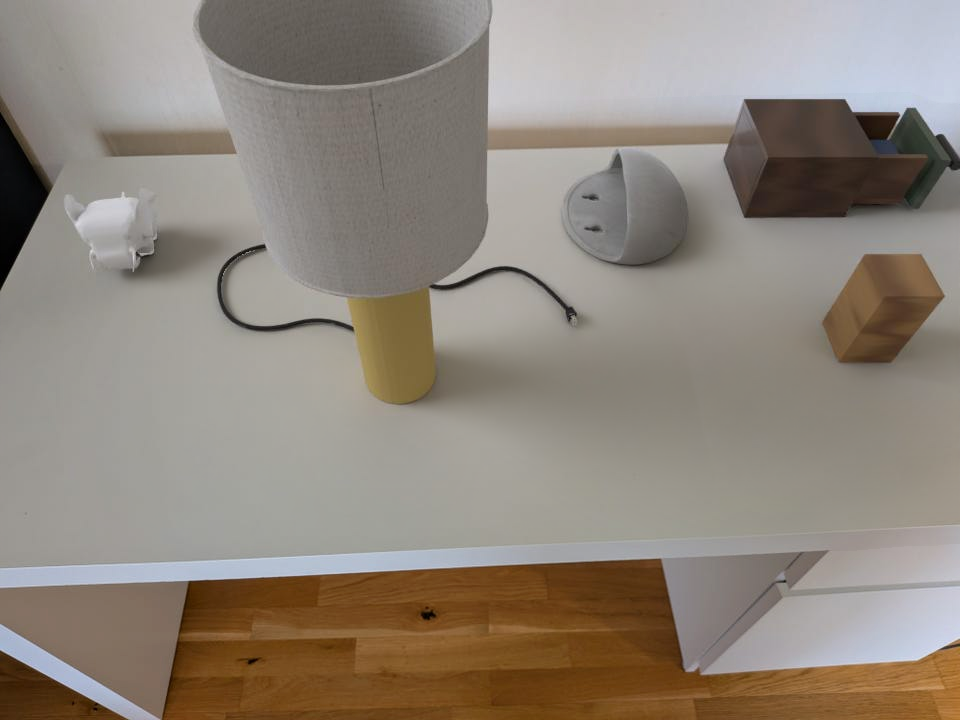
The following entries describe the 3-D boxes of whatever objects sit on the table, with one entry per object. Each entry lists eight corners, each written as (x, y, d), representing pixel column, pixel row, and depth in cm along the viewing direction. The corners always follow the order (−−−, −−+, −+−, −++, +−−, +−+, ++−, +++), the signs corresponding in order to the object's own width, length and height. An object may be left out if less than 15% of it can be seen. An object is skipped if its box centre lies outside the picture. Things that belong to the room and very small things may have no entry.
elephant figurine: (82, 292, 82) (45, 237, 75) (101, 225, 89) (69, 169, 82) (164, 284, 83) (134, 229, 76) (176, 218, 90) (150, 163, 83)
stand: (872, 321, 80) (921, 253, 71) (891, 362, 76) (945, 296, 67) (821, 321, 80) (864, 253, 71) (838, 362, 76) (885, 296, 67)
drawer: (917, 156, 97) (947, 107, 91) (950, 209, 91) (985, 160, 84) (800, 156, 97) (823, 107, 91) (825, 209, 90) (851, 160, 84)
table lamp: (230, 491, 66) (1, 139, 34) (215, 255, 86) (61, -109, 54) (613, 400, 73) (720, 34, 41) (519, 200, 92) (542, -153, 60)
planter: (712, 226, 79) (571, 222, 79) (695, 270, 85) (564, 266, 85) (687, 129, 90) (564, 126, 91) (674, 174, 96) (559, 171, 96)
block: (876, 165, 94) (890, 139, 91) (887, 184, 92) (902, 158, 88) (846, 165, 94) (859, 139, 91) (856, 184, 92) (870, 158, 88)
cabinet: (816, 159, 98) (845, 98, 91) (845, 217, 91) (879, 157, 83) (723, 159, 98) (743, 98, 91) (743, 217, 91) (768, 157, 83)
